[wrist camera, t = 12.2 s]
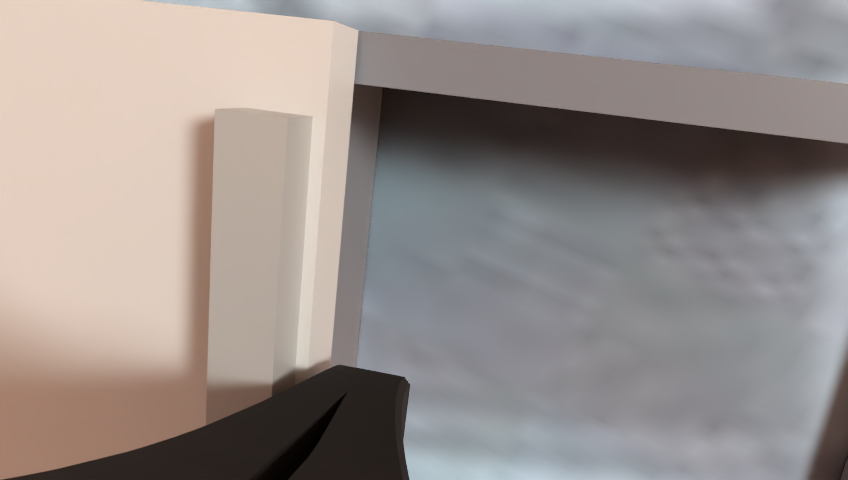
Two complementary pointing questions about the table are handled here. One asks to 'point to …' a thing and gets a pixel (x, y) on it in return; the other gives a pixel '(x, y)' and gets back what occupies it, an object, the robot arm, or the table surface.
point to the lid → (162, 218)
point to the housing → (557, 88)
